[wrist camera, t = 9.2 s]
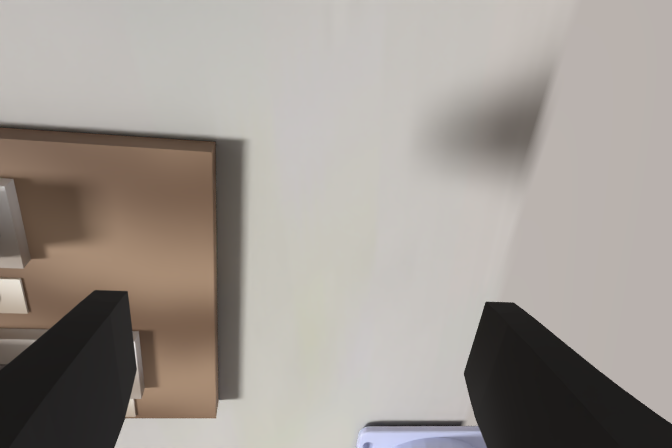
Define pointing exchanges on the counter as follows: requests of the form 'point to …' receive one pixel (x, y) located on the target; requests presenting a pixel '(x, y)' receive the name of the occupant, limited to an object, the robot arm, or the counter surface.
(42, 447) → the robot arm
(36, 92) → the counter surface
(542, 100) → the counter surface
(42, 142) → the switch board
